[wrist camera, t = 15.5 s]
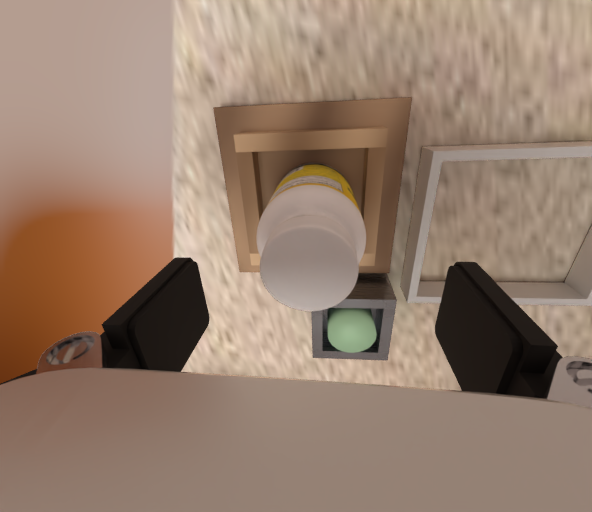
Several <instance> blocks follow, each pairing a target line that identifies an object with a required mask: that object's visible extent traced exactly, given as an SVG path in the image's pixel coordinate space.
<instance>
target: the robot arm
mask: <svg viewBox="0 0 592 512" xmlns="http://www.w3.org/2000/svg"><path fill="white" fill-rule="evenodd" d="M208 324H209V313H208V309H207V304H206V300H205V296H204V291H203V287H202V282H201V278H200V273H199V269H198V265H197V263H196V262H193V260H192V259H191V258H174V259H173V260H172V261H171V262H170V263H169V264H168V265H167V266H166V267H164V268H163V269H162V270H161V271H160V272H159V273H158V274H157V275H156V276H154V277H153V278H152V279H151V280H150V281H149V282H148V283H147V284H146V285H145V286H144V287H142V288H141V289H140V290H139V291H138V292H137V293H136V294H135V295H134V296H132V297H131V298H130V299H129V300H128V301H127V302H126V303H125V304H124V305H123V306H122V307H120V308H119V309H118V310H117V311H116V312H115V313H114V314H113V315H112V316H111V317H109V319H107V320H106V321H105V322H104V323H103V324H102V326H103V328H104V331H105V332H104V333H102V334H101V335H99V334H98V333H96V332H81V333H77V334H73V335H71V336H68V337H66V338H64V339H62V340H60V341H58V342H56V343H55V344H53V345H52V346H51V347H49V348H48V349H47V350H46V351H45V352H44V353H43V354H42V356H41V358H40V360H39V363H38V367H37V369H36V370H33V371H30V372H28V373H26V374H23V375H21V376H18V377H16V378H14V379H11V380H9V381H6V382H4V383H1V384H0V512H592V359H589V358H583V357H578V356H568V357H565V358H563V357H562V356H561V355H560V354H559V353H558V352H557V351H556V349H557V347H558V346H557V345H556V344H555V343H554V342H553V341H552V340H551V339H550V338H549V336H548V335H547V334H546V333H545V332H544V331H543V330H542V329H541V328H540V327H539V326H538V325H537V324H536V323H535V322H534V321H533V320H532V319H531V318H530V317H529V316H528V315H527V314H526V313H525V312H524V311H523V310H522V309H521V308H520V307H519V306H518V305H517V304H516V303H515V302H514V301H513V300H512V299H511V298H510V297H509V296H508V295H507V294H506V293H505V292H504V291H503V289H502V288H501V287H500V286H499V285H498V284H497V283H496V282H495V281H494V280H493V279H492V278H491V277H490V276H489V275H488V274H487V273H486V272H485V271H484V270H483V269H482V268H481V267H480V266H479V265H478V264H477V263H476V262H456V263H455V264H454V266H450V267H449V269H448V273H447V277H446V281H445V286H444V290H443V294H442V299H441V303H440V307H439V312H438V316H437V321H436V325H435V333H436V336H437V339H438V341H439V343H440V345H441V347H442V349H443V351H444V353H445V355H446V358H447V360H448V362H449V364H450V366H451V368H452V370H453V372H454V374H455V377H456V379H457V381H458V383H459V385H460V387H461V389H462V391H455V390H442V389H428V388H414V387H400V386H387V385H373V384H359V383H345V382H331V381H316V380H301V379H286V378H271V377H256V376H240V375H224V374H208V373H191V372H181V370H182V369H183V367H184V365H185V364H186V362H187V360H188V359H189V357H190V355H191V353H192V352H193V350H194V348H195V347H196V345H197V343H198V342H199V340H200V338H201V336H202V335H203V333H204V331H205V330H206V328H207V326H208Z"/></svg>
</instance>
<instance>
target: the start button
mask: <svg viewBox="0 0 592 512" xmlns="http://www.w3.org/2000/svg"><path fill="white" fill-rule="evenodd" d="M327 322H328V339H329V342H330V343H331V344H332V346H334V347H335V348H336V349H338V350H340V351H343V352H348V353H355V352H361V351H364V350H366V349H368V348H369V347H370V346H371V345H372V344H373V343H374V342H375V340H376V335H377V333H376V328H375V324H374V320H373V316H372V312H371V308H329V309H328V312H327Z"/></svg>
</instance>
